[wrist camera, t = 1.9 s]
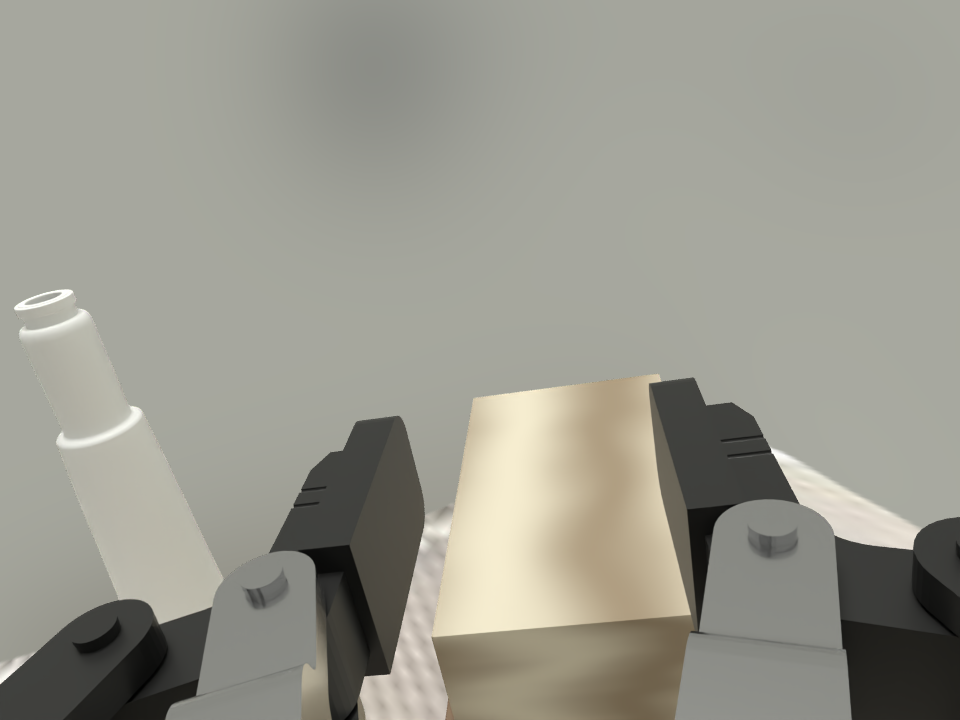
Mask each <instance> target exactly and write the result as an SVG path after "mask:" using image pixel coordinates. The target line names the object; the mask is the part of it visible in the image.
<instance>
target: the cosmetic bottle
mask: <svg viewBox="0 0 960 720" xmlns="http://www.w3.org/2000/svg"><path fill="white" fill-rule="evenodd" d="M76 301H77V299H76V297H75V295H74V292H73V291H72V290H56V291H52V292H47V293H44V294H40V295H37V296H34V297H32V298H29V299H27V300H25V301H23V302H21V303H19V304H18V305H17V306H15V308H14V310H15V313H16V315H17V317H18V319H23V322H24V324H25V326H23V328H21V330H20V332H19V338H20V342H21V344H22V346H23V348H24V350H25V353H26V354H27V357H28V359H29V361H30V363H31V365H32V367H33V370H34V372H35V374H36V376H37V378H38V380H39V382H40V385H41V387H42V389H43V391H44V393H45V395H46V397H47V399H48V401H49V404H50V406H51V408H52V410H53V412H54V414H55V417H56V419H57V421H58V423H59V425H60V427H61V429H62V432H61V433H60V435H59V436H58V438H57V441H56V444H57V447H58V450H59V453H60V455H61V458H62V460H63V463H64V465H65V468H66V471H67V473H68V476H69V478H70V481H71V484H72V486H73V489H74V491H75V493H76V496H77V499H78V501H79V504H80V506H81V508H82V511H83V513H84V516H85V518H86V520H87V523H88V526H89V528H90V530H91V533H92V535H93V538H94V540H95V542H96V545H97V547H98V549H99V552H100V554H101V557H102V559H103V562H104V564H105V566H106V569H107V571H108V573H109V576H110V579H111V581H112V583H113V586H114V588H115V591H116V593H117V596H118V598H119V600H124V599H137V600H141V601H144V602H146V603H148V604H149V605H150V606H151V608H152V610H153V612H154V614H155V616H156V618H157V621H158V623H159V624H162V623H165V622H168V621H171V620H174V619H177V618H180V617H183V616H186V615H189V614H193V613H196V612H199V611H202V610H205V609H207V608H210V607H212V605H213V599H214V596H215V593H216V591H217V589H218V587H219V586H220V584H221V583H222V582H223V580H224V578H223V576H222V574H221V572H220V570H219V569H218V566H217V565H216V562H215V561H214V559H213V556H212V554H211V552H210V550H209V548H208V546H207V544H206V542H205V540H204V538H203V536H202V533H201V531H200V529H199V527H198V525H197V523H196V521H195V519H194V517H193V515H192V512H191V510H190V508H189V506H188V504H187V502H186V500H185V497H184V495H183V493H182V491H181V489H180V487H179V485H178V483H177V481H176V478H175V476H174V474H173V472H172V470H171V468H170V466H169V464H168V462H167V459H166V458H165V455H164V453H163V451H162V449H161V447H160V445H159V443H158V441H157V439H156V437H155V435H154V433H153V431H152V429H151V427H150V425H149V423H148V421H147V419H146V417H145V415H144V413H143V411H142V410H141V409H140V408H138V407H135V406H129V404H128V402H127V399H126V397H125V395H124V392H123V390H122V387H121V385H120V383H119V380H118V378H117V376H116V373H115V371H114V368H113V366H112V364H111V361H110V359H109V356H108V354H107V352H106V349H105V347H104V345H103V342H102V340H101V338H100V335H99V333H98V330H97V328H96V325H95V323H94V321H93V319H92V317H91V315H90V314H89V313H88V312H87V311H85V310H83V309H77V308H76V305H75V302H76Z"/></svg>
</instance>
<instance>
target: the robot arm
mask: <svg viewBox="0 0 960 720" xmlns="http://www.w3.org/2000/svg"><path fill="white" fill-rule="evenodd" d="M649 398H650V408H651V417H652V426H653V435H654V445H655V454H656V463H657V471H658V478H659V485H660V490H661V496H662V500H663V505H664V509H665V513H666V517H667V521H668V525H669V529H670V533H671V537H672V541H673V545H674V549H675V553H676V557H677V561H678V565H679V569H680V573H681V577H682V581H683V585H684V589H685V593H686V597H687V601H688V605H689V609H690V613H691V617H692V621H693V625H694V629H695V631H691V632H690V634H689V636H688V640H687V645H686V651H685V657H684V664H683V670H682V676H681V683H680V689H679V695H678V702H677V708H676V714H675V720H960V517H957V518H949V519H944V520H940V521H936V522H934V523H932V524H929V525H928V526H926V527H925V528H923V529H922V530H921V531H920V532H919V533H918V534H917V536H916V538H915V540H914V546H913V550H907V549H898V548H889V547H880V546H872V545H865V544H860V543H856V542H851V541H848V540H845V539H842V538H839V537H837V536H835V535H834V532H833V529H832V527H831V525H830V524H829V523H828V522H827V520H826V519H825V518H824V517H822V516H821V515H820V514H819V513H817V512H815V511H814V510H812V509H810V508H808V507H805V506H803V505H800V504H799V502H798V500H797V498H796V496H795V494H794V492H793V491H792V489H791V487H790V485H789V483H788V481H787V479H786V477H785V475H784V473H783V472H782V470H781V468H780V466H779V464H778V462H777V460H776V458H775V456H774V454H772V453H771V449H770V447H769V445H768V443H767V441H766V439H764V437H763V434H762V432H761V430H760V428H759V426H758V424H757V422H756V420H755V418H754V417H753V416H752V415H750V414H749V413H747V412H746V411H744V410H743V409H741V408H740V407H738V406H736V405H735V404H733V403H724V404H716V405H707V406H706V404H705V402H704V400H703V397H702V395H701V393H700V390H699V388H698V385H697V383H696V381H695V379H694V378H686V379H678V380H671V381H663V382H655V383H649ZM301 490H302V493H299V495H298V497H297V499H296V501H295V503H294V509H291V511H290V513H289V515H288V517H287V519H286V521H285V523H284V525H283V527H282V528H281V530H280V533H279V535H278V536H277V539H276V541H275V543H274V544H273V546H272V548H271V550H270V552H269V554H265V555H262V556H259V557H257V558H255V559H252V560H250V561H249V562H246V563H245V564H243V565H241V566H240V567H238V568H237V569H236V570H234V571H233V572H232V573H230V574H229V575H228V576H227V577H226V578H225V579H224V580H223V582H222V583H221V584H220V586H219V587H218V589H217V591H216V593H215V596H214V599H213V605H212V607H210V608H207V609H205V610H202V611H199V612H196V613H193V614H189V615H186V616H183V617H180V618H177V619H174V620H171V621H168V622H165V623H162V624H159V623H158V621H157V618H156V616H155V614H154V612H153V610H152V608H151V606H150V605H149V604H148V603H146V602H144V601H141V600H137V599H124V600H118V601H114V602H110V603H107V604H104V605H102V606H99V607H97V608H94V609H92V610H90V611H88V612H86V613H85V614H83V615H81V616H80V617H78V618H76V619H75V620H74V621H72V622H71V623H69V624H68V625H67V626H66V627H64V628H63V629H62V630H61V631H60V632H59V633H58V634H57V635H55V636H54V637H53V638H52V639H51V640H50V641H49V642H47V643H46V644H45V645H44V646H43V647H42V648H41V649H40V650H38V651H37V652H36V653H35V654H34V655H33V656H32V657H31V658H30V659H28V660H27V661H26V662H25V663H24V664H23V665H22V666H21V667H19V668H18V669H17V670H16V671H15V672H14V673H13V674H12V675H10V676H9V677H8V678H7V679H6V680H5V681H4V682H3V683H2V684H0V720H365V712H364V708H363V705H362V702H361V699H360V696H359V694H360V691H361V687H362V683H363V679H364V676H374V675H387V674H390V673H391V668H392V664H393V660H394V655H395V651H396V647H397V642H398V638H399V633H400V629H401V625H402V620H403V616H404V612H405V607H406V603H407V598H408V594H409V590H410V585H411V581H412V577H413V572H414V568H415V563H416V559H417V555H418V550H419V546H420V542H421V537H422V533H423V528H424V518H425V512H424V500H423V494H422V490H421V486H420V482H419V478H418V474H417V470H416V467H415V462H414V459H413V455H412V451H411V447H410V443H409V439H408V435H407V431H406V428H405V425H404V422H403V420H402V419H401V417H399V416H393V417H386V418H378V419H371V420H363V421H357V422H356V423H355V425H354V427H353V430H352V432H351V434H350V436H349V438H348V441H347V443H346V445H345V447H344V450H343V451H338V452H331V453H329V454H328V455H327V456H326V457H325V458H324V459H323V460H322V461H321V462H319V464H317V465H316V466H315V467H314V468H313V469H312V470H311V471H310V473H309V475H308V477H307V479H306V481H305V483H304V485H303V487H302V489H301Z"/></svg>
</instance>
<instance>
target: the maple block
mask: <svg viewBox="0 0 960 720" xmlns="http://www.w3.org/2000/svg"><path fill="white" fill-rule="evenodd" d="M655 382H661V379H660V376H659V374H652V375H645V376H638V377H630V378H623V379H615V380H607V381H599V382H592V383H584V384H577V385H569V386H561V387H554V388H547V389H540V390H531V391H524V392H516V393H509V394H501V395H493V396H487V397H478V398H474V399H473V405H472V410H471V416H470V422H469V428H468V434H467V439H466V444H465V450H464V457H463V462H462V467H461V473H460V479H459V484H458V490H457V496H456V501H455V507H454V513H453V518H452V524H451V530H450V535H449V541H448V547H447V552H446V558H445V564H444V570H443V575H442V581H441V587H440V592H439V598H438V604H437V609H436V615H435V621H434V626H433V632H432V641H433V644H434V648H435V651H436V655H437V659H438V662H439V666H440V669H441V673H442V677H443V680H444V684H445V688H446V691H447V695H448V698H449V702H450V706H451V709H452V713H453V716H454V720H675V714H676V708H677V702H678V695H679V689H680V683H681V676H682V670H683V664H684V657H685V651H686V645H687V640H688V636H689V634H690V632H691V631H695V629H694V625H693V621H692V617H691V613H690V609H689V605H688V601H687V597H686V593H685V589H684V585H683V581H682V577H681V573H680V569H679V565H678V561H677V557H676V553H675V549H674V545H673V541H672V537H671V533H670V529H669V525H668V521H667V517H666V513H665V509H664V505H663V500H662V496H661V490H660V485H659V478H658V471H657V463H656V454H655V445H654V435H653V426H652V417H651V408H650V398H649V383H655Z"/></svg>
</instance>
